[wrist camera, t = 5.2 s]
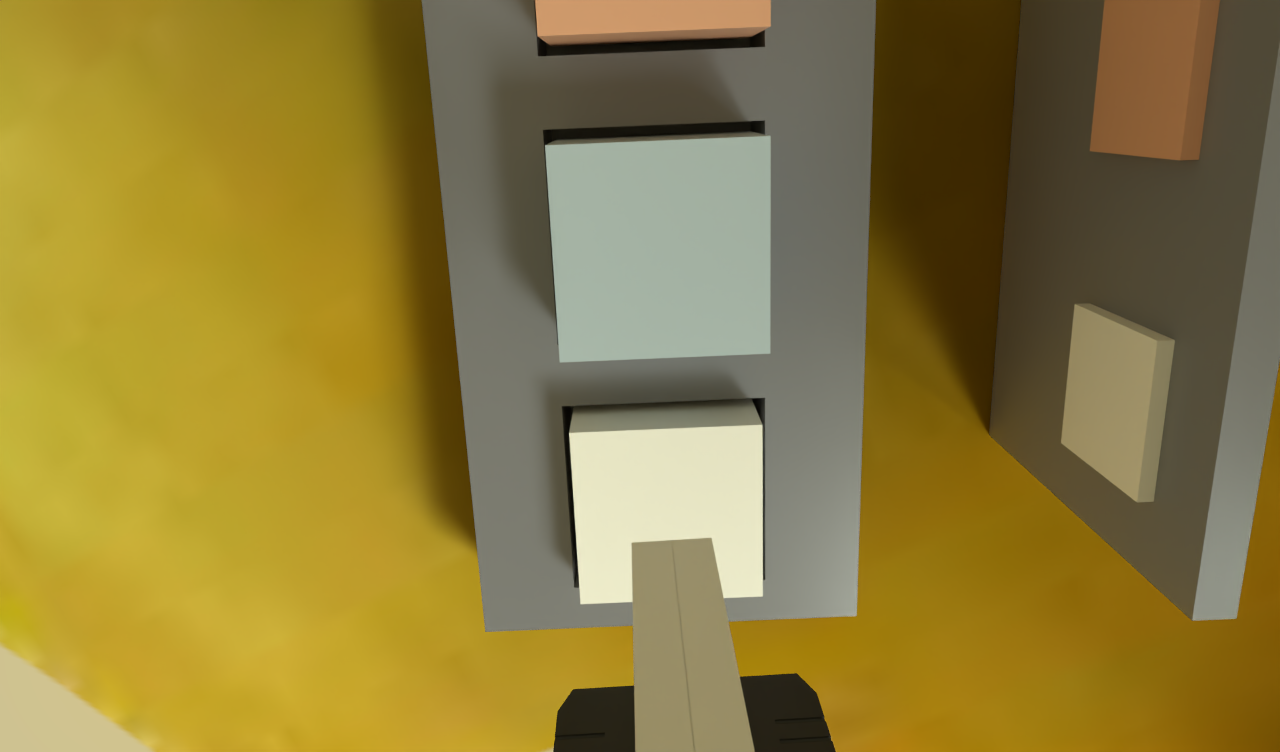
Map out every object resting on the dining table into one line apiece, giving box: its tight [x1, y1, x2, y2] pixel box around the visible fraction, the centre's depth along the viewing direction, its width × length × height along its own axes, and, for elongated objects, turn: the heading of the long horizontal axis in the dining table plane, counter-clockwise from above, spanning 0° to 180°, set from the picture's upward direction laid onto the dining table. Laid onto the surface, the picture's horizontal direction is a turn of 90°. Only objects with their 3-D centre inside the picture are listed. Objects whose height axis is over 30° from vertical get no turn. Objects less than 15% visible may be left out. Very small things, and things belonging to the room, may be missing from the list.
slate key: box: [545, 131, 771, 362], centre depth 25 cm, size 6×6×4 cm
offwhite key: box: [569, 398, 763, 604], centre depth 29 cm, size 6×6×4 cm
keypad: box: [422, 0, 1280, 632], centre depth 24 cm, size 25×18×12 cm
